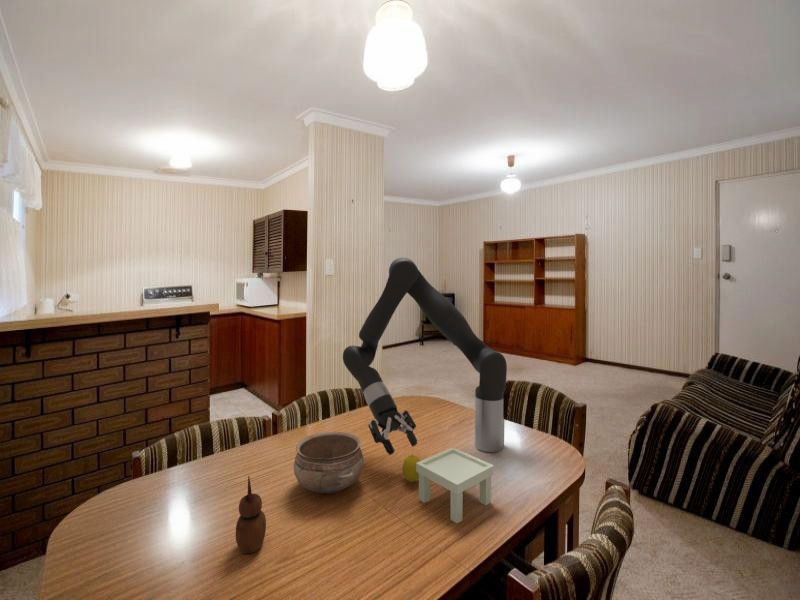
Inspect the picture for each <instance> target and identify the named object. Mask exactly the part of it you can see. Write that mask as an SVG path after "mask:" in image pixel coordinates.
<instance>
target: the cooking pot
mask: <svg viewBox="0 0 800 600" xmlns="http://www.w3.org/2000/svg"><path fill="white" fill-rule="evenodd" d="M361 445H362V441H361V439H360V438H359V436H357V435H355V434H353V433H349V432H344V431H323V432H318V433H314V434H311V435H308V436H305V437H304V438H301V440H299V441H298V442H297V444H296V446H295V451H296V455H295V457H294V458H295V459H294V463H293V473H294V476H295V479H296V480H297V482H298V483H299V484H300V485H301V486H302V487H304V488H305V489H307V490H309V491H311V492H315V493H319V494H324V495H331V494H332V495H333V494H335V493H338V492H340V491H342V490H344V489H346V488H348V487H350V486H351V485H353V484H354V483H355V482H356V481H357V480H358V478H359V477H360V476H361V474H362V471H363V469H364V465H365V464H364V462H365V461H364V460H365V459H364V455H363V452H362V449H361Z"/></svg>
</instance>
